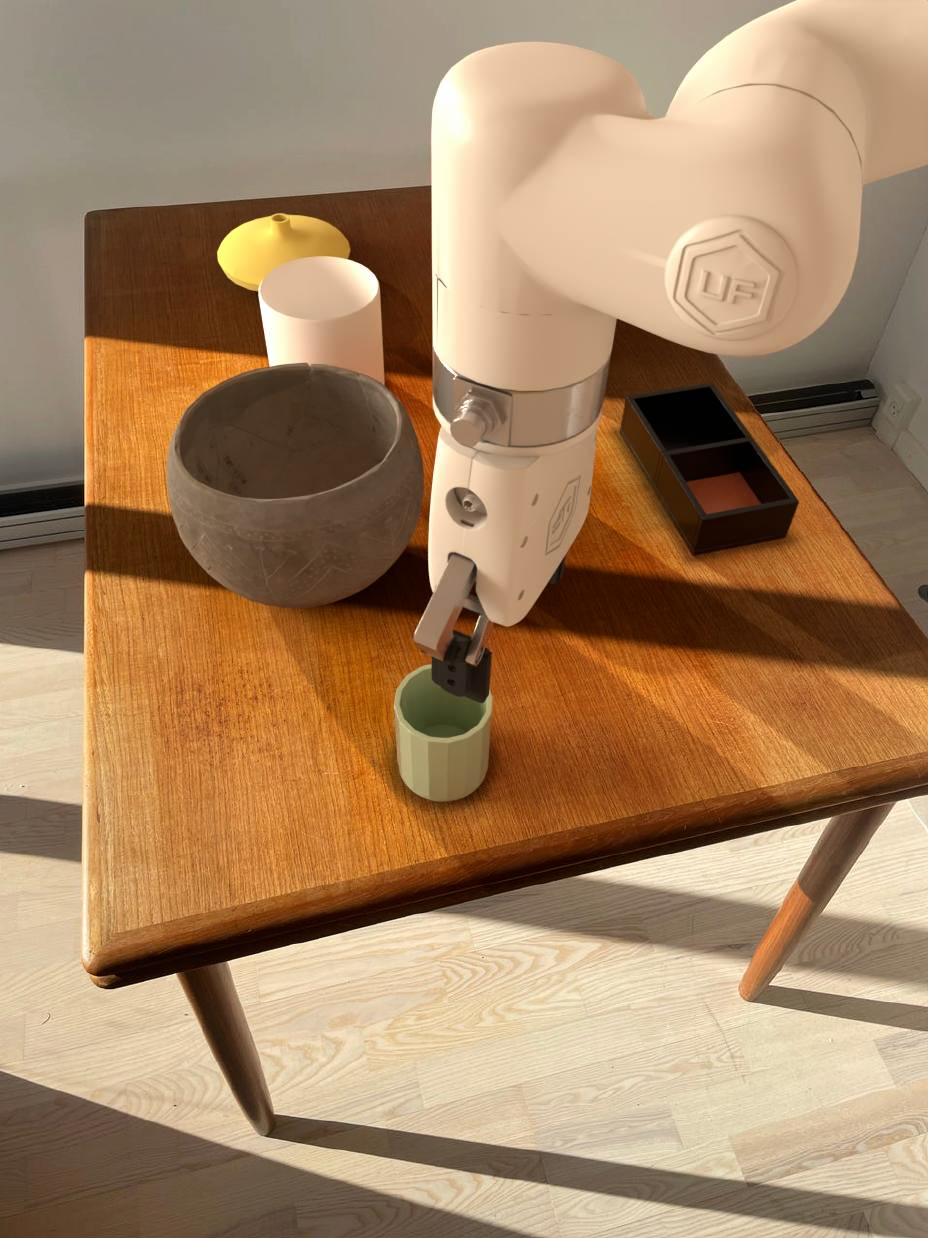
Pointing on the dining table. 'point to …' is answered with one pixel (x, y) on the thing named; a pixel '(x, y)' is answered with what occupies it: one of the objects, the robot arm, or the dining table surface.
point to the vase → (276, 246)
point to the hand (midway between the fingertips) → (500, 628)
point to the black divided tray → (706, 469)
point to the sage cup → (440, 738)
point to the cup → (323, 315)
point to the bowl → (296, 483)
